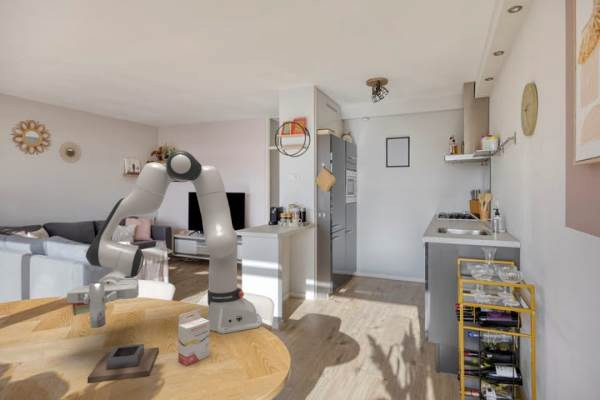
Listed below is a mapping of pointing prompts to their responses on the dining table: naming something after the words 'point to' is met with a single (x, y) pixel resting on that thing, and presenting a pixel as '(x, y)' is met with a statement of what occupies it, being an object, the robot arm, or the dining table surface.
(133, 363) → the socket collar
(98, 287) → the steel pin
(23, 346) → the dining table surface
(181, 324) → the ink cartridge box
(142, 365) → the socket board
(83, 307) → the hardcover book
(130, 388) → the dining table surface
